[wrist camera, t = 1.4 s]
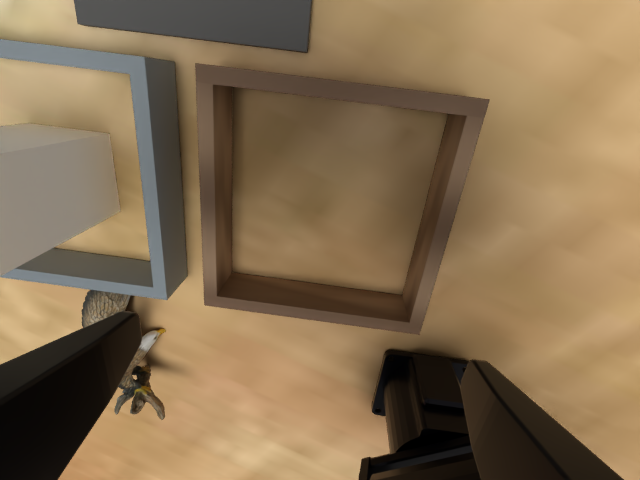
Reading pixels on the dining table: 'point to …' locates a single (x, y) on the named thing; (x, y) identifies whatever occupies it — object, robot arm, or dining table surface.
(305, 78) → the frame
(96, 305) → the eagle figurine
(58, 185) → the letter block
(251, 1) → the dark grey flat slab
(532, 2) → the dining table surface
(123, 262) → the frame
